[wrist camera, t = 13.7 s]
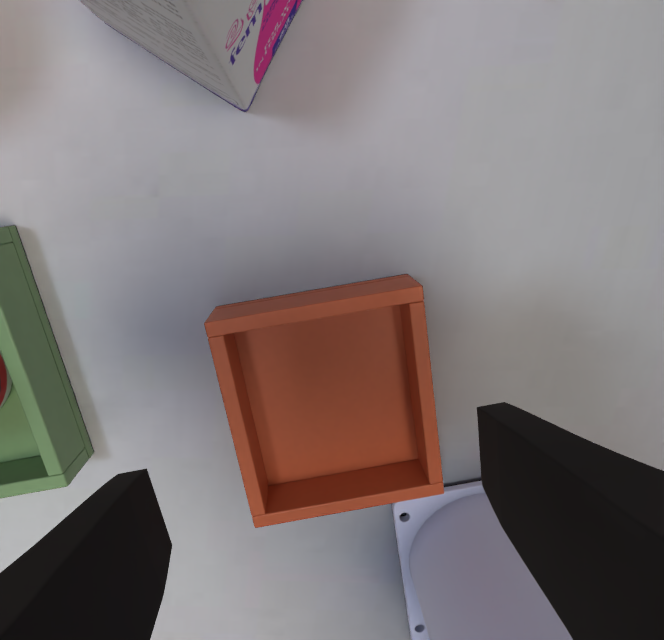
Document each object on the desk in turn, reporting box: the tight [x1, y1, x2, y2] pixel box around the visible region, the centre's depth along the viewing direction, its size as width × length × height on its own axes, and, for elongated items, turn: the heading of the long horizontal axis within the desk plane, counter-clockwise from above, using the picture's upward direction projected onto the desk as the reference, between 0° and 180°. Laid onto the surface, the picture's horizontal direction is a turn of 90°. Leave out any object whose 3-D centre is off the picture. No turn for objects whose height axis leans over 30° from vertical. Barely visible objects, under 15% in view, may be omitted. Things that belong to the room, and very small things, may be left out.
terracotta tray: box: [204, 274, 444, 528], centre depth 20 cm, size 9×8×2 cm
